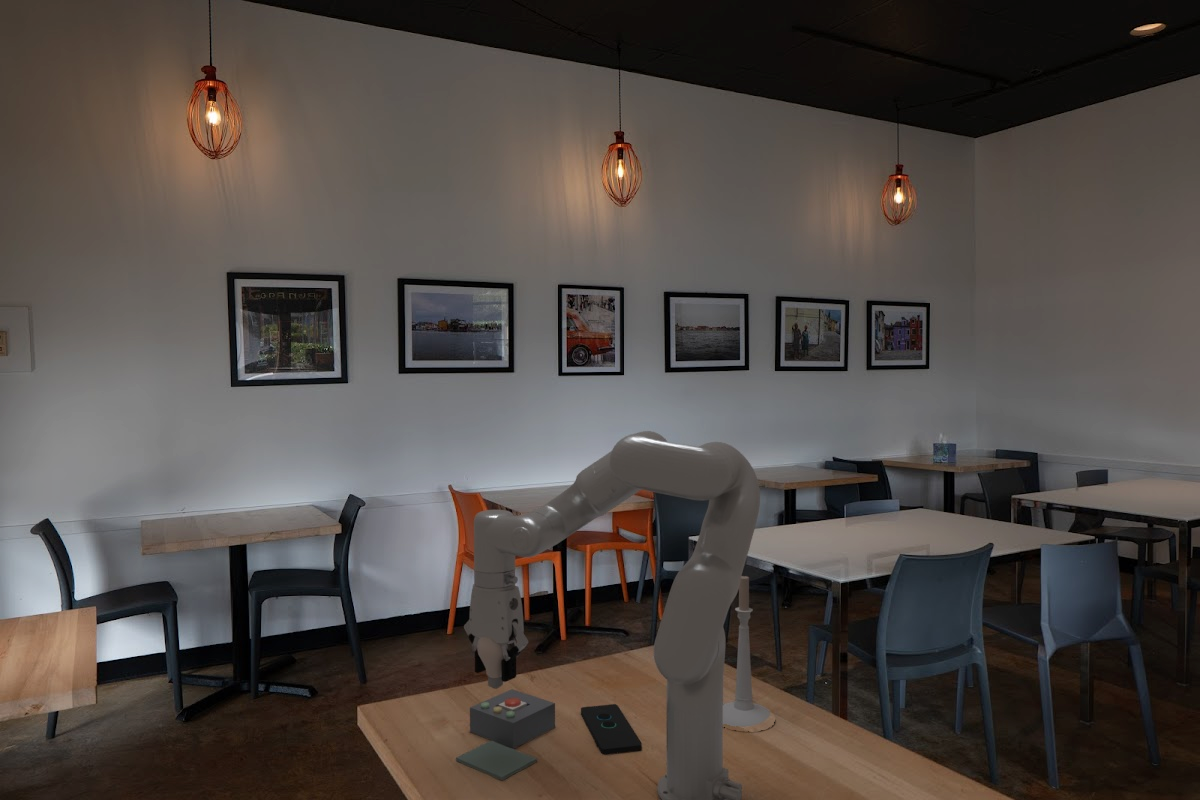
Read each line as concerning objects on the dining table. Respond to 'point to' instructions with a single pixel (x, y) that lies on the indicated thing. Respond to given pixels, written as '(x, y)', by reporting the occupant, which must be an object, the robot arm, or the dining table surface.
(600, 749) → the smart home device
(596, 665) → the dining table surface
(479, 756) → the mat
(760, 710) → the candlestick
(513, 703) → the button
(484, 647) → the light bulb
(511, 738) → the grey button control box
